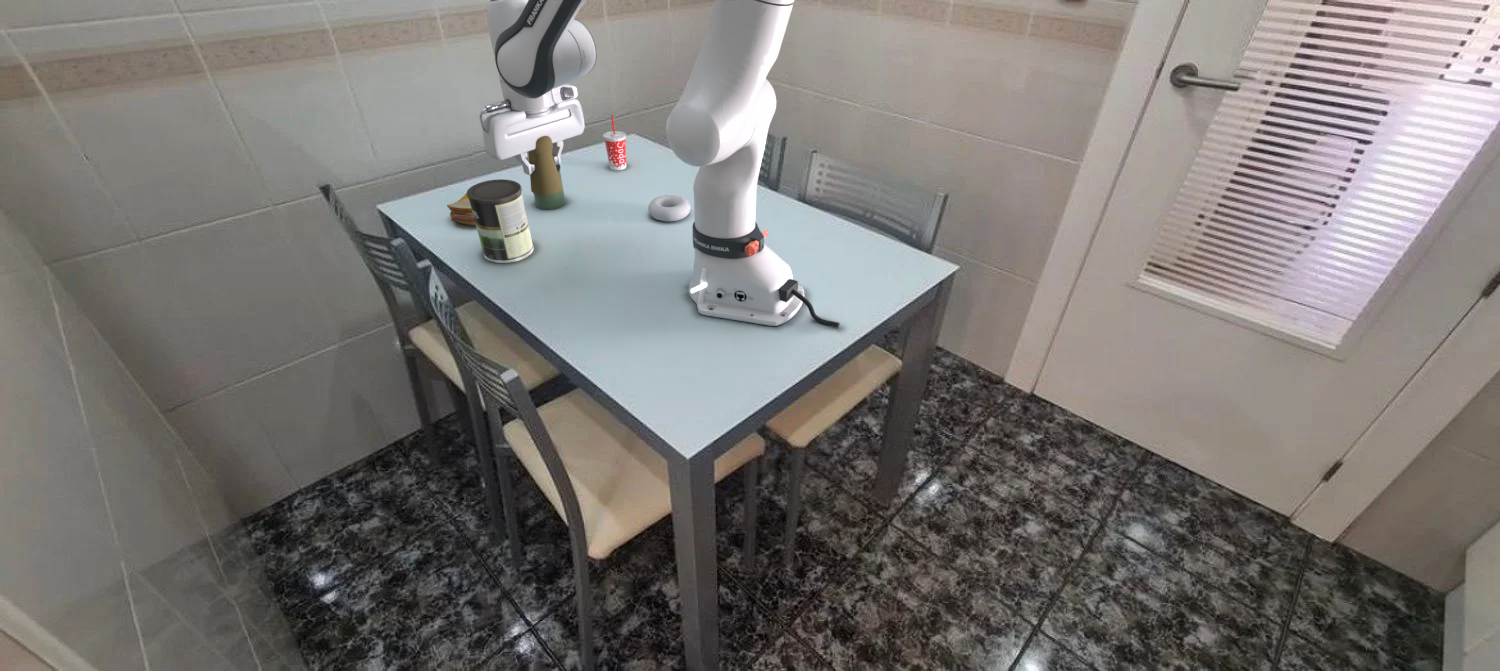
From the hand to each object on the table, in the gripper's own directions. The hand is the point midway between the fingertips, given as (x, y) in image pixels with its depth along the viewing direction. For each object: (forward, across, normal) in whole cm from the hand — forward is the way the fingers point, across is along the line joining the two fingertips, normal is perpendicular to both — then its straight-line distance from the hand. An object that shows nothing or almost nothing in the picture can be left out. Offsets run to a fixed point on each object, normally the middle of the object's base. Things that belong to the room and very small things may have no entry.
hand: (543, 168), depth 119 cm
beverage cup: (+19, +41, +27) cm, 53 cm away
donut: (+19, +29, -5) cm, 35 cm away
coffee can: (+19, -6, +9) cm, 22 cm away
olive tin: (+19, +15, +22) cm, 32 cm away
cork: (+4, 0, 0) cm, 4 cm away
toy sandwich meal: (+19, 0, +29) cm, 34 cm away
